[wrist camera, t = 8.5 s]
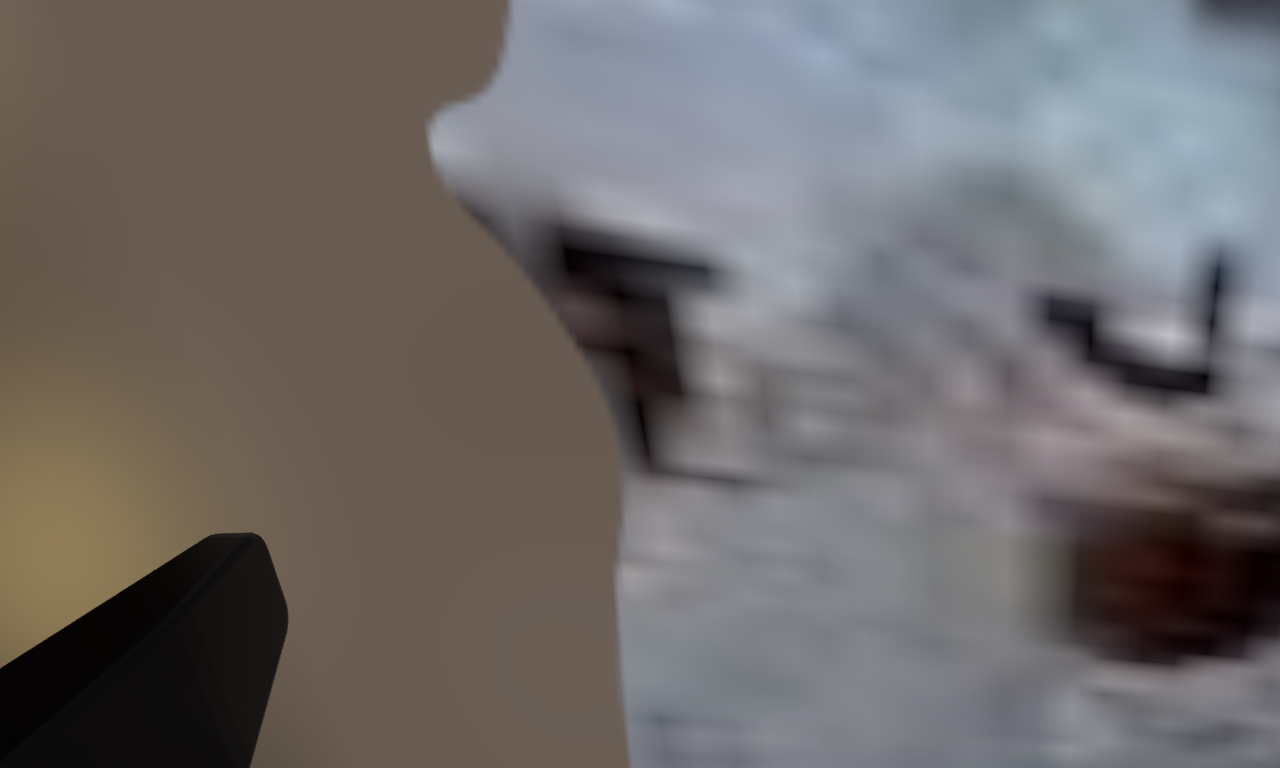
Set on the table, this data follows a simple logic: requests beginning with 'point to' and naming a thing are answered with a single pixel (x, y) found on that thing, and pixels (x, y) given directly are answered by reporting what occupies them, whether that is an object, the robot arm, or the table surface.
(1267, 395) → the table surface
